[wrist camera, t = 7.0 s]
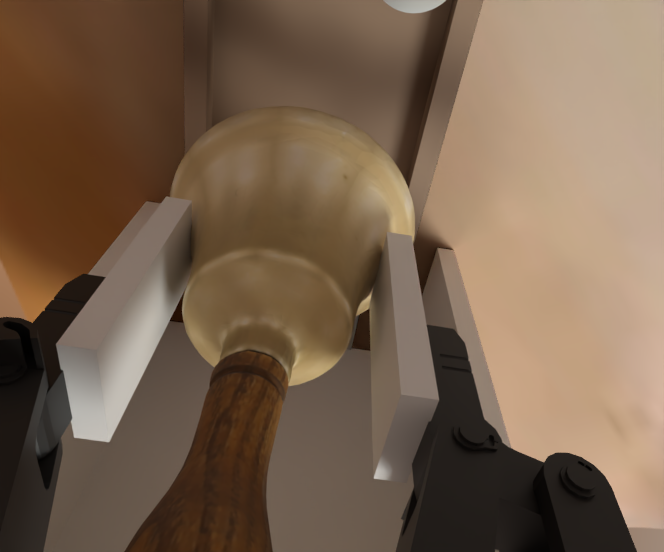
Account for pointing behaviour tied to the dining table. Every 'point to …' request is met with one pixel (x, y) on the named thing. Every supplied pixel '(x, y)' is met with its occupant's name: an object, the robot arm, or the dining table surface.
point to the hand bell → (268, 299)
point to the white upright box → (288, 450)
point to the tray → (334, 68)
